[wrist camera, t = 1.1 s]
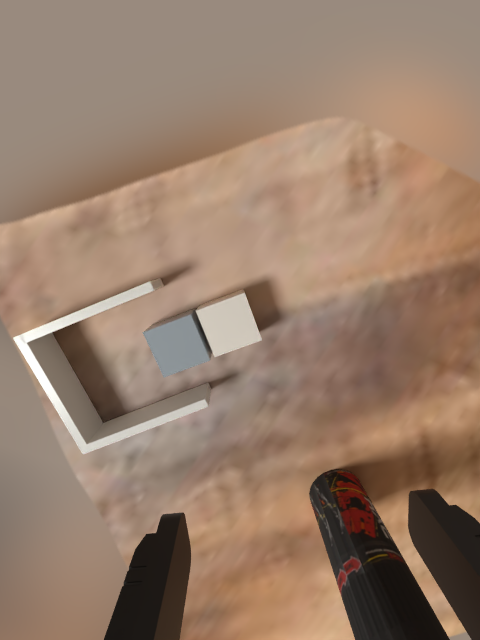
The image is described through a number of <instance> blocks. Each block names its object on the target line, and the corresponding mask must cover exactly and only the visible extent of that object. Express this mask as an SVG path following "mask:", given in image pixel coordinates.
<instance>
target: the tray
mask: <svg viewBox="0 0 480 640" xmlns="http://www.w3.org/2000/svg"><path fill="white" fill-rule="evenodd" d="M163 286H164V285H163V283H162V281H161V278H159V279H156V280H153V281H150V282H147V283H145V284H142V285H140V286H137V287H135V288H133V289H130V290H128V291H125V292H123V293H120V294H118V295H116V296H113V297H111V298H108V299H106V300H103V301H101V302H99V303H96V304H94V305H91V306H89V307H86V308H84V309H82V310H79V311H77V312H74V313H72V314H69V315H67V316H65V317H62V318H60V319H57V320H55V321H52V322H50V323H48V324H45V325H43V326H40V327H38V328H35V329H33V330H31V331H28V332H26V333H23V334H21V335H18V336H16V337H14V338H13V339H14V340H15V342H16V344H17V345H18V347H19V349H20V350H21V352H22V354H23V355H24V357H25V359H26V360H27V362H28V364H29V365H30V367H31V369H32V370H33V372H34V374H35V375H36V377H37V379H38V380H39V382H40V384H41V385H42V387H43V389H44V390H45V392H46V394H47V395H48V397H49V399H50V400H51V402H52V404H53V405H54V407H55V409H56V410H57V412H58V414H59V415H60V417H61V419H62V420H63V422H64V424H65V425H66V427H67V429H68V430H69V432H70V434H71V435H72V437H73V439H74V440H75V442H76V444H77V445H78V447H79V449H80V450H81V452H82V454H85V453H88V452H91V451H93V450H96V449H98V448H101V447H104V446H106V445H109V444H112V443H114V442H117V441H119V440H122V439H125V438H127V437H130V436H133V435H135V434H138V433H140V432H143V431H146V430H148V429H151V428H154V427H156V426H159V425H161V424H164V423H167V422H169V421H172V420H175V419H177V418H180V417H182V416H185V415H188V414H190V413H193V412H196V411H198V410H201V409H203V408H206V407H209V400H210V394H211V387H210V385H209V383H205V384H203V385H200V386H198V387H195V388H192V389H190V390H187V391H185V392H182V393H179V394H177V395H174V396H172V397H169V398H166V399H164V400H161V401H159V402H156V403H154V404H151V405H148V406H146V407H143V408H141V409H138V410H135V411H133V412H130V413H128V414H125V415H122V416H120V417H117V418H115V419H112V420H109V421H107V422H104V423H103V422H102V420H101V418H100V416H99V415H98V413H97V411H96V409H95V407H94V406H93V404H92V402H91V400H90V399H89V397H88V395H87V393H86V392H85V390H84V388H83V386H82V385H81V383H80V381H79V379H78V377H77V376H76V374H75V372H74V370H73V369H72V367H71V365H70V363H69V362H68V360H67V358H66V356H65V354H64V353H63V351H62V349H61V347H60V346H59V344H58V342H57V340H56V339H55V337H54V335H53V333H52V332H54V331H56V330H59V329H61V328H64V327H66V326H69V325H71V324H73V323H76V322H78V321H81V320H83V319H86V318H88V317H91V316H93V315H95V314H98V313H100V312H103V311H105V310H108V309H110V308H113V307H115V306H117V305H120V304H122V303H125V302H127V301H130V300H132V299H135V298H137V297H139V296H142V295H144V294H147V293H149V292H152V291H154V290H156V289H159V288H161V287H163Z"/></svg>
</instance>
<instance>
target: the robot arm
mask: <svg viewBox="0 0 480 640" xmlns="http://www.w3.org/2000/svg"><path fill="white" fill-rule="evenodd" d="M408 528H409V533H410V536H411V539H412V542H413V544H414V546H415V548H416V550H417V551H418V553H419V555H420V556H421V558H422V559H423V561H424V563H425V564H426V566H427V568H428V569H429V571H430V572H431V574H432V576H433V577H434V579H435V581H436V582H437V584H438V586H439V587H440V589H441V590H442V592H443V594H444V595H445V597H446V599H447V600H448V602H449V604H450V605H451V607H452V608H453V610H454V612H455V613H456V615H457V617H458V618H459V620H460V621H461V623H462V625H463V626H464V628H465V630H466V631H467V633H468V635H469V636H470V638H471V639H472V640H480V524H479V522H478V521H477V520H476V519H475V518H474V517H472V516H471V515H470V514H468V513H467V512H465V511H464V510H462V509H461V508H460V507H458V506H457V505H450V506H449V505H448V504H447V503H446V501H445V500H444V499H443V498H442V497H441V495H440V494H439V493H438V492H437V491H436V490H434V489H427V490H416V491H410V493H409V514H408ZM190 565H191V547H190V541H189V535H188V530H187V524H186V518H185V514H184V513H173V514H163V515H162V516H161V519H160V522H159V525H158V529H157V532H156V533H152V534H146V535H145V537H144V538H143V539H142V541H141V542H140V544H139V545H138V546H137V548H136V549H135V552H134V555H133V557H132V560H131V563H130V566H129V571H128V572H127V575H126V578H125V581H124V586H123V587H122V589H121V592H120V595H119V598H118V601H117V603H116V606H115V609H114V612H113V615H112V618H111V621H110V624H109V626H108V629H107V632H106V635H105V638H104V640H179V639H180V633H181V626H182V619H183V613H184V606H185V599H186V593H187V586H188V580H189V573H190Z"/></svg>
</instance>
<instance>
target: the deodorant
mask: <svg viewBox="0 0 480 640" xmlns="http://www.w3.org/2000/svg"><path fill="white" fill-rule="evenodd" d="M309 494H310V500H311V504H312V507H313V510H314V513H315V516H316V519H317V522H318V525H319V528H320V531H321V535H322V538H323V541H324V544H325V547H326V550H327V553H328V556H329V559H330V562H331V566H332V569H333V572H334V575H335V578H336V581H337V584H338V587H339V590H340V594H341V597H342V600H343V603H344V606H345V609H346V612H347V615H348V618H349V621H350V625H351V628H352V631H353V634H354V637H355V640H450V639H449V638H448V636H447V634H446V632H445V630H444V629H443V627H442V625H441V623H440V622H439V620H438V618H437V616H436V615H435V613H434V611H433V609H432V608H431V606H430V604H429V602H428V601H427V599H426V597H425V595H424V594H423V592H422V590H421V588H420V587H419V585H418V583H417V581H416V580H415V578H414V576H413V574H412V572H411V571H410V569H409V567H408V565H407V564H406V562H405V560H404V558H403V557H402V555H401V553H400V551H399V550H398V548H397V546H396V544H395V543H394V541H393V539H392V537H391V536H390V534H389V532H388V530H387V529H386V527H385V525H384V523H383V522H382V520H381V518H380V516H379V515H378V513H377V511H376V509H375V507H374V506H373V504H372V502H371V500H370V499H369V497H368V495H367V493H366V492H365V490H364V488H363V486H362V485H361V483H360V481H359V480H358V478H357V477H356V476H355V475H353V474H352V473H350V472H348V471H345V470H331V471H328V472H325V473H323V474H322V475H320V476H319V477H317V479H316V480H315V481H314V482H313V484H312V486H311V488H310V493H309Z"/></svg>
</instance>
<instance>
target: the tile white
mask: <svg viewBox="0 0 480 640" xmlns="http://www.w3.org/2000/svg"><path fill="white" fill-rule="evenodd" d="M196 313H197V315H198V318H199V320H200V323H201V325H202V328H203V330H204V332H205V335H206V337H207V340H208V342H209V345H210V347H211V350H212V352H213V354H214V357H217V356H220V355H222V354H225V353H228V352H231V351H233V350H236V349H239V348H242V347H244V346H247V345H250V344H253V343H256V342H258V341H261V340H262V339H261V336H260V333H259V330H258V327H257V325H256V322H255V319H254V316H253V314H252V311H251V308H250V306H249V303H248V300H247V297H246V295H245V292H244V289H243V290H240V291H237V292H235V293H232V294H229V295H227V296H224V297H221V298H218V299H216V300H213V301H210V302H208V303H205V304H202V305H200V306H199V307H198V308H197V310H196Z"/></svg>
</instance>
